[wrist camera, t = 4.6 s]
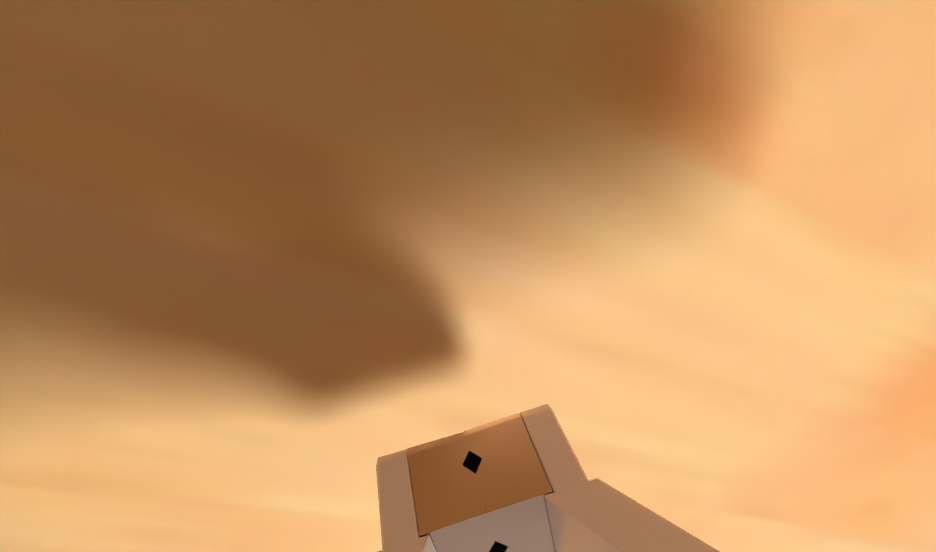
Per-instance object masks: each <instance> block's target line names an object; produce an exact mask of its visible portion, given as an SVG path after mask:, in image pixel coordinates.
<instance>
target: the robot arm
mask: <svg viewBox="0 0 936 552" xmlns="http://www.w3.org/2000/svg"><path fill="white" fill-rule="evenodd" d="M376 471H377V484H378V497H379V510H380V523H381V536H382V549H383V550H381V551H378V552H720V551H718V550H716V549H715V548H713V547H711V546H710V545H708V544H706V543H705V542H703V541H701V540H700V539H698V538H696V537H695V536H693V535H691V534H690V533H688V532H686V531H685V530H683V529H681V528H680V527H678V526H676V525H675V524H673V523H671V522H670V521H668V520H666V519H665V518H663V517H661V516H660V515H658V514H656V513H655V512H653V511H651V510H650V509H648V508H646V507H645V506H643V505H641V504H640V503H638V502H636V501H635V500H633V499H631V498H630V497H628V496H626V495H625V494H623V493H621V492H620V491H618V490H616V489H615V488H613V487H611V486H610V485H608V484H606V483H605V482H603V481H601V480H600V479H598V478H597V479H593V480H590V481H588V479H587V477H586V475H585V473H584V471H583V469H582V467H581V465H580V463H579V461H578V459H577V457H576V455H575V453H574V451H573V449H572V448H571V446H570V444H569V442H568V440H567V438H566V436H565V434H564V432H563V430H562V428H561V426H560V424H559V422H558V420H557V418H556V416H555V414H554V412H553V410H552V408H551V407H550V406H548V405H547V404H545V405H542V406H539V407H536V408H533V409H530V410H527V411H524V412H521V413H520V414H518V413H517V414H514V415H511V416H508V417H505V418H502V419H499V420H496V421H493V422H490V423H487V424H484V425H481V426H478V427H475V428H472V429H469V430H466V431H464V432H462V433H459V434H455V435H452V436H448V437H445V438H442V439H438V440H435V441H431V442H428V443H424V444H421V445H418V446H414V447H411V448H407V449H406V450H402V451H399V452H395V453H392V454H389V455H385V456H382V457H379V458H378V460H377V465H376Z"/></svg>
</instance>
